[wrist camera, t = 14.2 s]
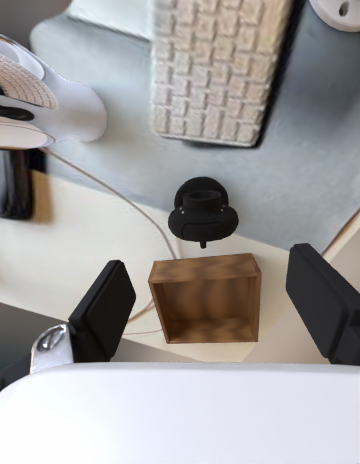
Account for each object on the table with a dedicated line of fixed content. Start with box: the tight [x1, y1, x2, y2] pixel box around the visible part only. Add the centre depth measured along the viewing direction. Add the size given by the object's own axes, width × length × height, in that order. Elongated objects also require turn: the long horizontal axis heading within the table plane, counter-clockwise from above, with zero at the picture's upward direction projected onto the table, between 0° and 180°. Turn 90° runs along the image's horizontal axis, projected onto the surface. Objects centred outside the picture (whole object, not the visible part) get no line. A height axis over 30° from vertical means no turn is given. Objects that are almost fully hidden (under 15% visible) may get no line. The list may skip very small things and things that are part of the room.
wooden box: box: [148, 253, 261, 344], centre depth 32 cm, size 16×15×5 cm
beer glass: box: [0, 33, 107, 151], centre depth 16 cm, size 7×7×15 cm
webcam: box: [168, 177, 239, 249], centre depth 22 cm, size 8×8×10 cm
